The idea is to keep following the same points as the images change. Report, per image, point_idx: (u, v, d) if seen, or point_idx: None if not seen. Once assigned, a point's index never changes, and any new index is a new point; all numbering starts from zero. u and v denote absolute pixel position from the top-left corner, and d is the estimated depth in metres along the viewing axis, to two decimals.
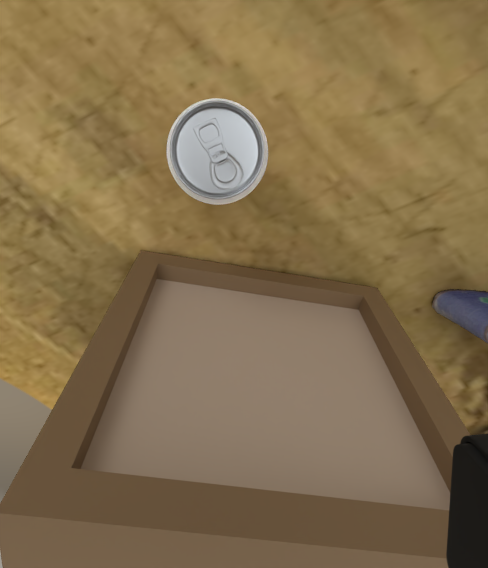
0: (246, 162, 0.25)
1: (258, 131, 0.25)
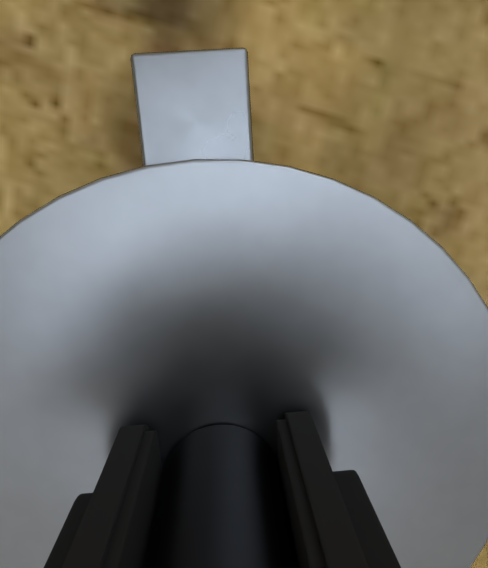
0: None
1: None
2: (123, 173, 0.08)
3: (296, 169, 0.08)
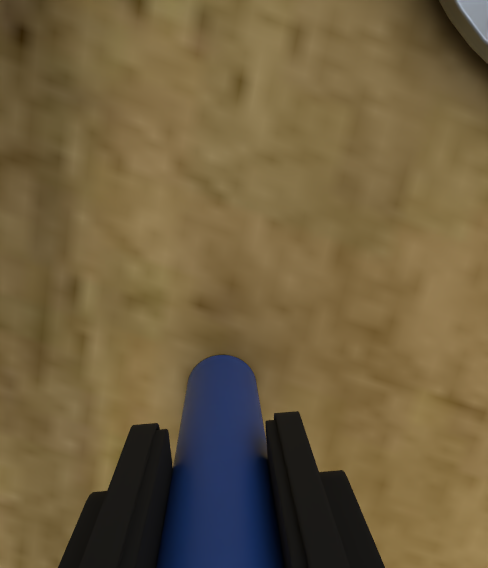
0: None
1: None
2: None
3: None
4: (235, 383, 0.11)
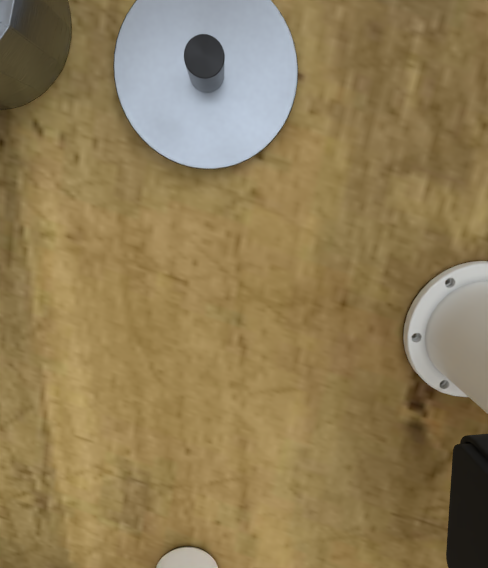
0: None
1: None
2: None
3: None
4: None
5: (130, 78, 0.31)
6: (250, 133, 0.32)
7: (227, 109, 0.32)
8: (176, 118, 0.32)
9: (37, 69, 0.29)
